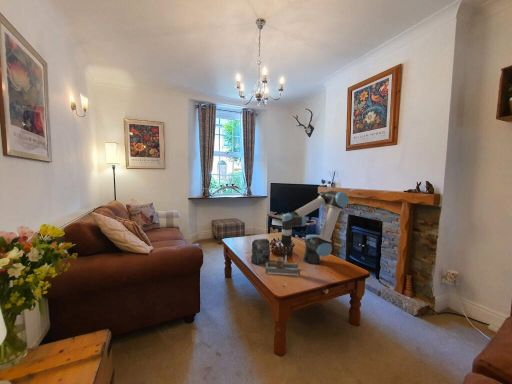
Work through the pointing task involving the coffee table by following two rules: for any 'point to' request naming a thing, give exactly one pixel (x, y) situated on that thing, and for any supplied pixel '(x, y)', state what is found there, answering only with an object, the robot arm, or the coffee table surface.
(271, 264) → the chute
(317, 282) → the coffee table surface
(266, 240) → the stone block
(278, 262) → the walnut block
